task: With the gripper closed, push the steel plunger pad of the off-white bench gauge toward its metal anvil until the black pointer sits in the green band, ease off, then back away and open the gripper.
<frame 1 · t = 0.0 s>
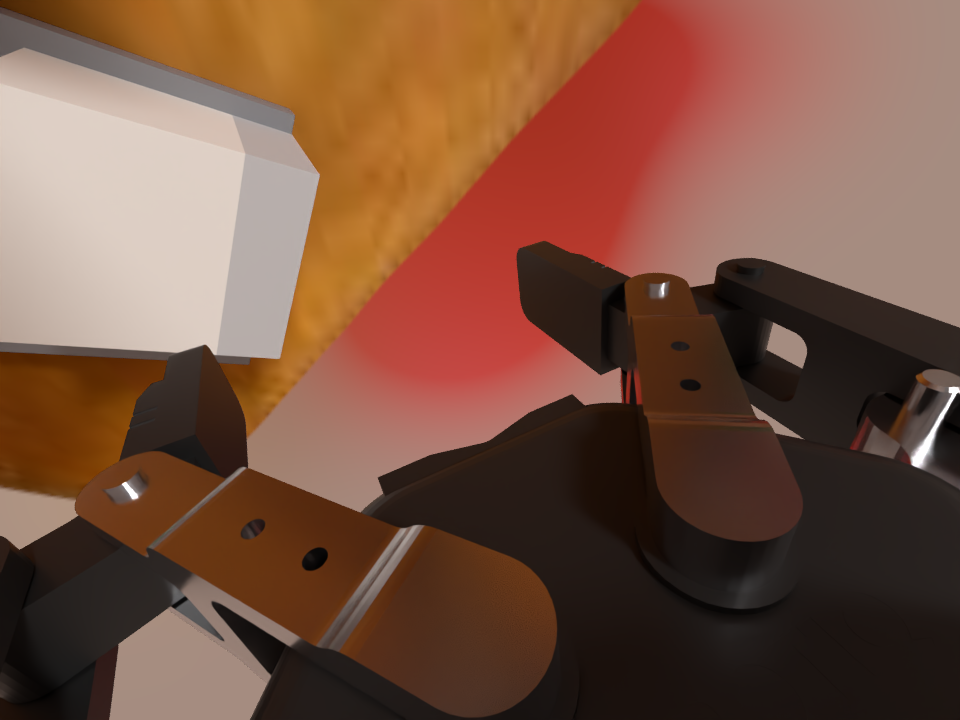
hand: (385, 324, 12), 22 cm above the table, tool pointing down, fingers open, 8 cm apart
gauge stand: (12, 146, 23), on the table
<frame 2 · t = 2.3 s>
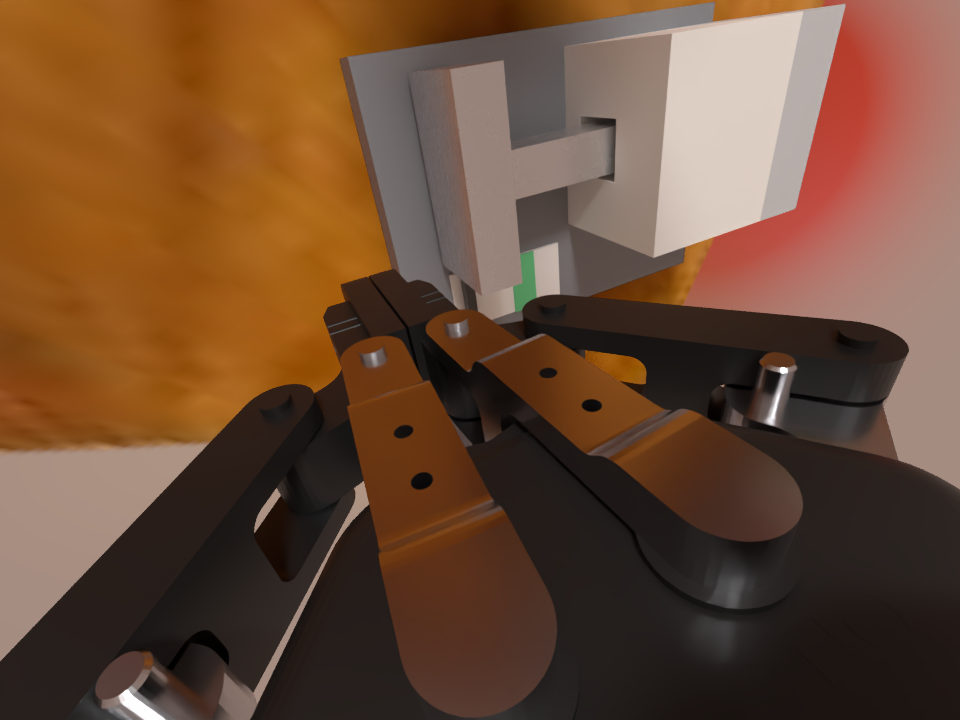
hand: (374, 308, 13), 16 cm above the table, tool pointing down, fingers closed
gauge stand: (535, 144, 30), on the table
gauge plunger: (545, 214, 26), point 5 cm above the table, slide at 0.0 cm
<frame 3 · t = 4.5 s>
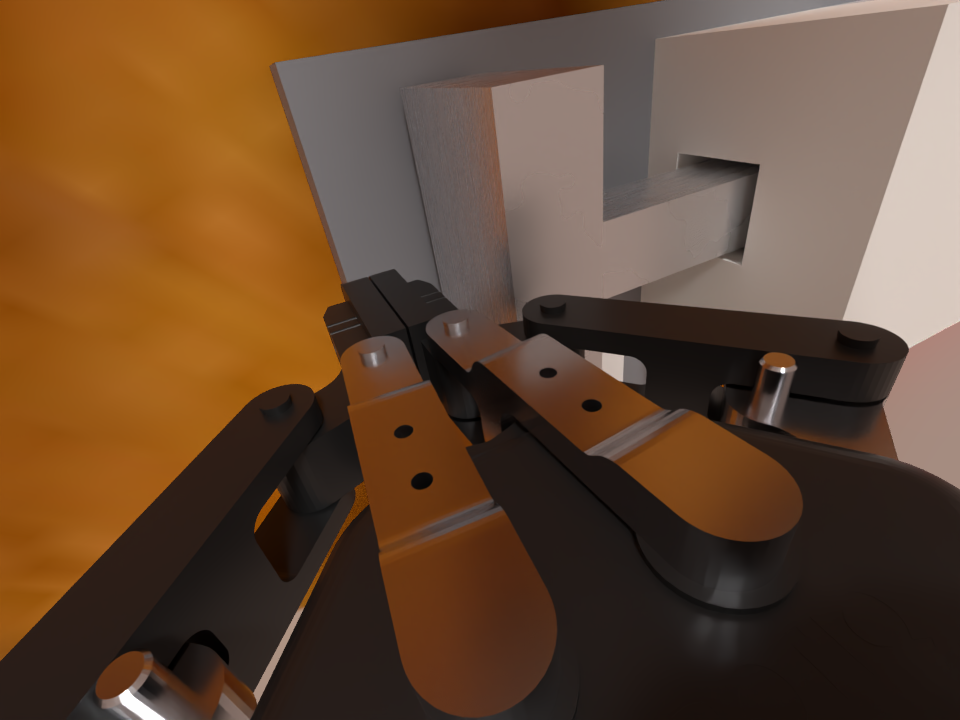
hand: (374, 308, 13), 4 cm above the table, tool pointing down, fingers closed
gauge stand: (594, 190, 19), on the table
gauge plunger: (629, 313, 16), point 5 cm above the table, slide at 0.3 cm, touching gripper
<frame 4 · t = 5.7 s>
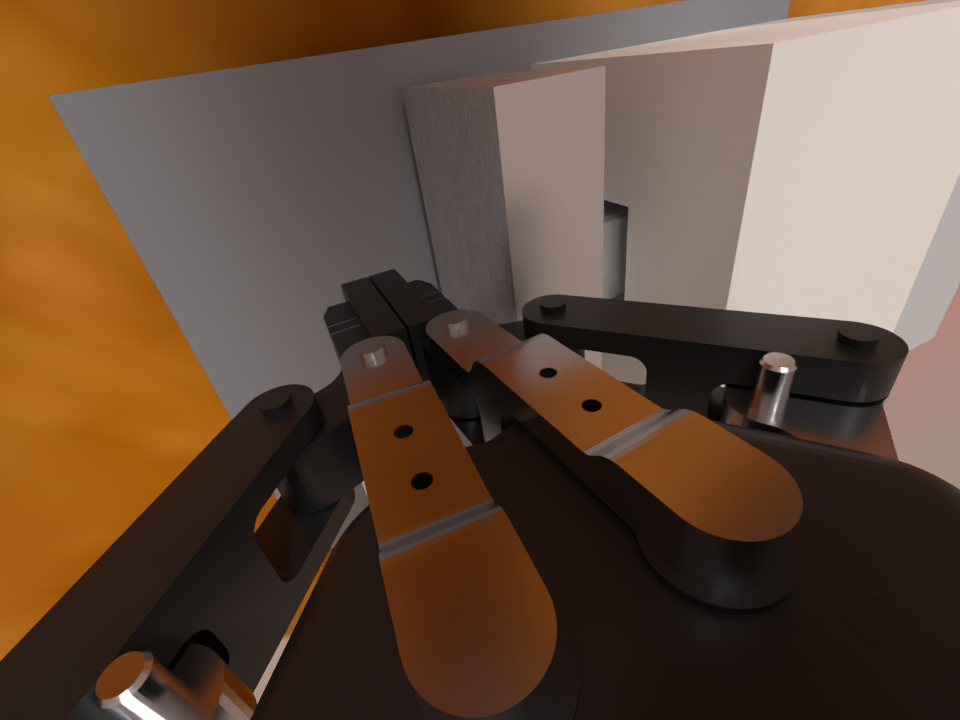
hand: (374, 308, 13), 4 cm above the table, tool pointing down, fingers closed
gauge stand: (491, 221, 18), on the table
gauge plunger: (629, 315, 16), point 5 cm above the table, slide at 5.1 cm, touching gripper
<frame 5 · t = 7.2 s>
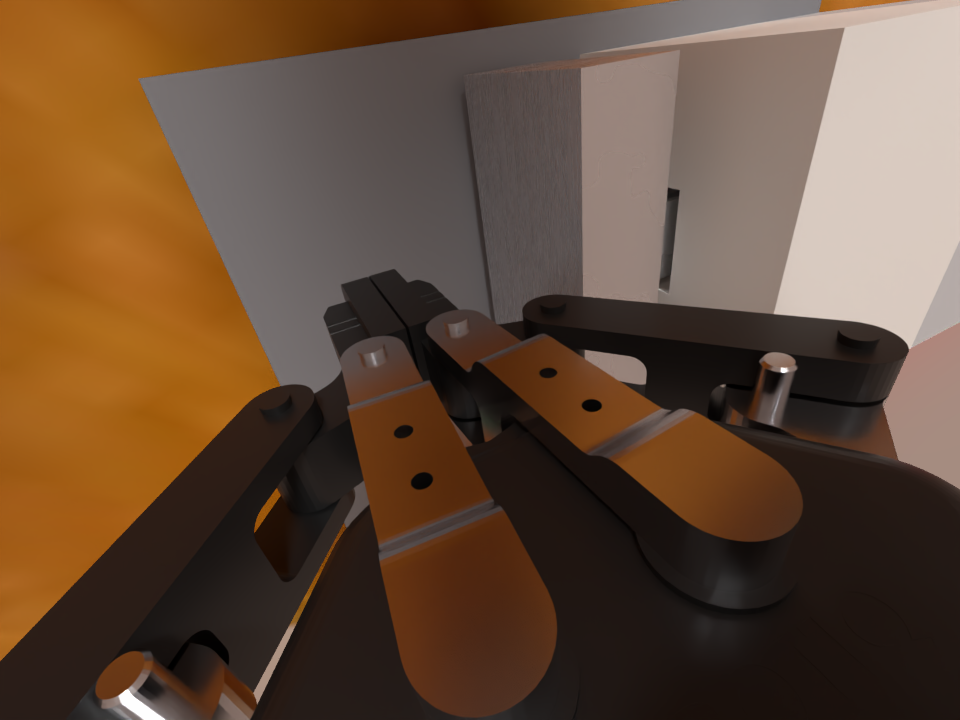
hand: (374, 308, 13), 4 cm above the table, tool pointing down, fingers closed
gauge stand: (530, 209, 19), on the table
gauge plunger: (669, 298, 17), point 5 cm above the table, slide at 5.1 cm
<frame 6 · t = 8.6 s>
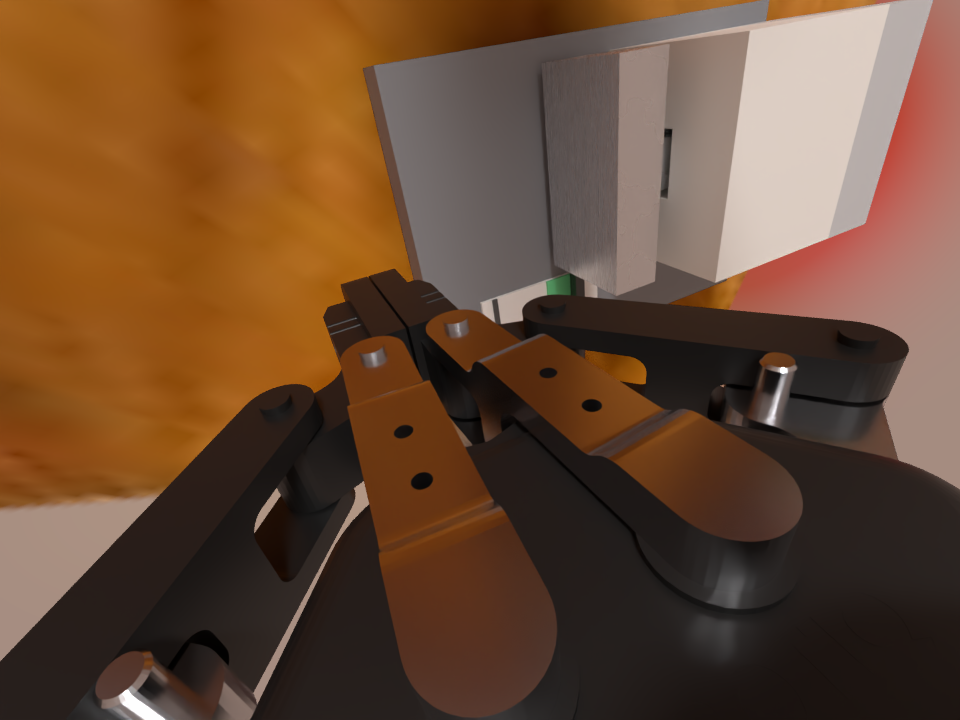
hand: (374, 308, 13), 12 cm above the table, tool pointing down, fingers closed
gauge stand: (572, 157, 27), on the table
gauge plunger: (668, 210, 25), point 5 cm above the table, slide at 5.1 cm
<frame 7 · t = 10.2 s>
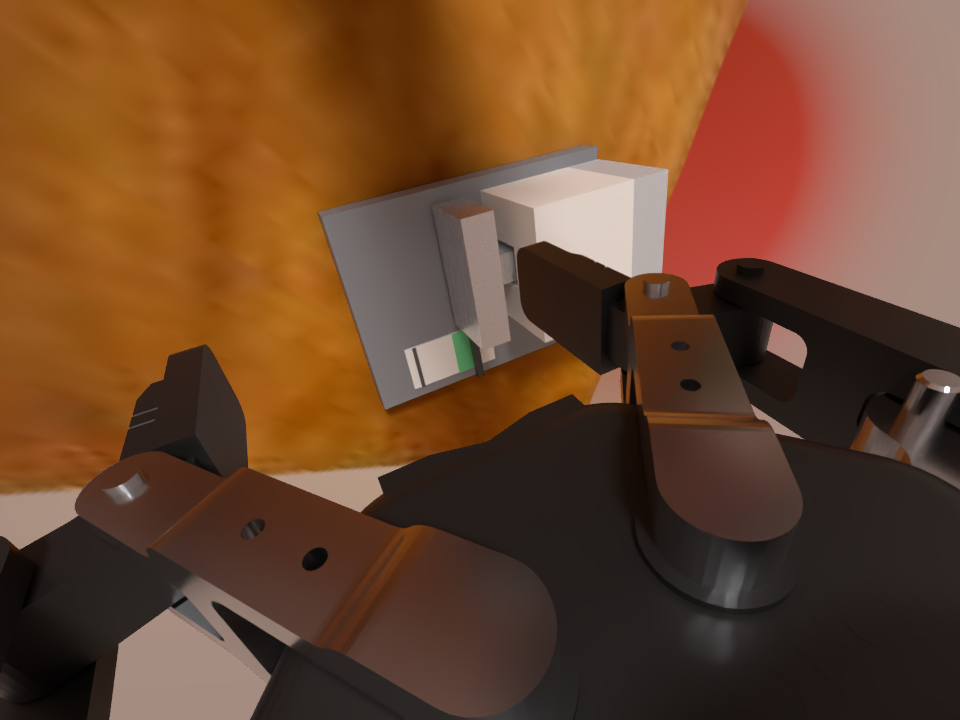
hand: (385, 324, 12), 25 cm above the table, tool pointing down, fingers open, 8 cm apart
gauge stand: (468, 249, 40), on the table
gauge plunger: (527, 289, 38), point 5 cm above the table, slide at 5.1 cm
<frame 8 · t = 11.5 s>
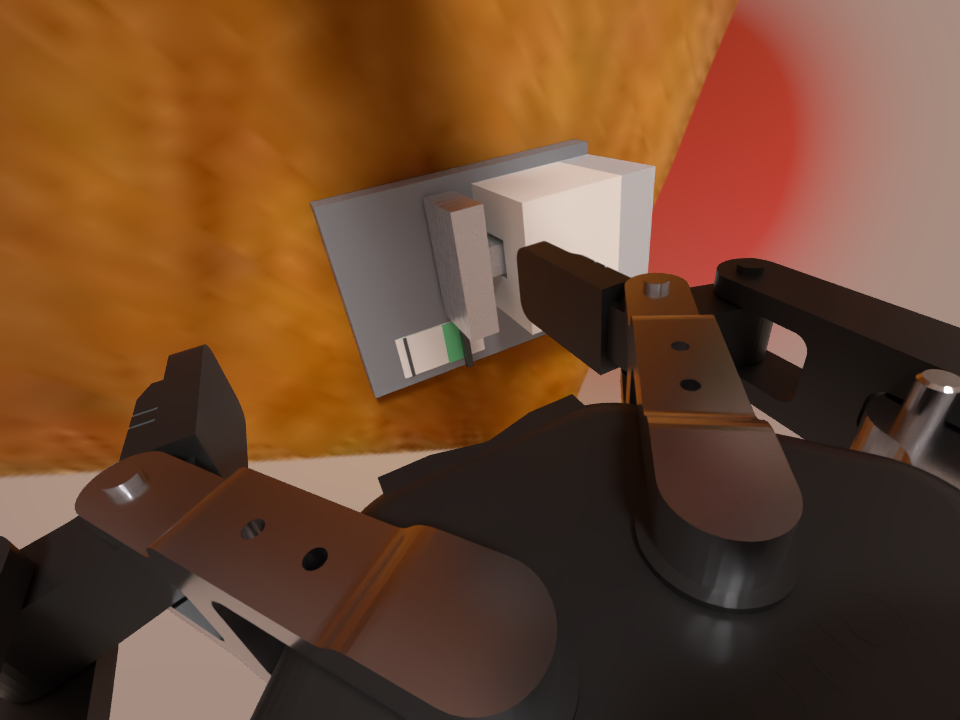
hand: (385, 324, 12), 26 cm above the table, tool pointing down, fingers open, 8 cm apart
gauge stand: (459, 241, 40), on the table
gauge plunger: (516, 282, 38), point 5 cm above the table, slide at 5.1 cm
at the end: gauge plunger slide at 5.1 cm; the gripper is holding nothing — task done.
